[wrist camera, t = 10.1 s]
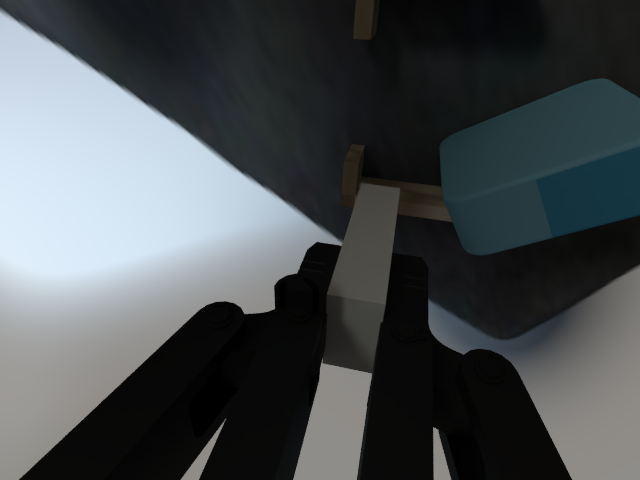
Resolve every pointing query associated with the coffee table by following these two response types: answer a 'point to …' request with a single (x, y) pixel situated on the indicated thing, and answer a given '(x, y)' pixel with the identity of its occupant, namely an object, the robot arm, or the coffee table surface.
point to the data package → (544, 168)
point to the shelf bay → (412, 195)
